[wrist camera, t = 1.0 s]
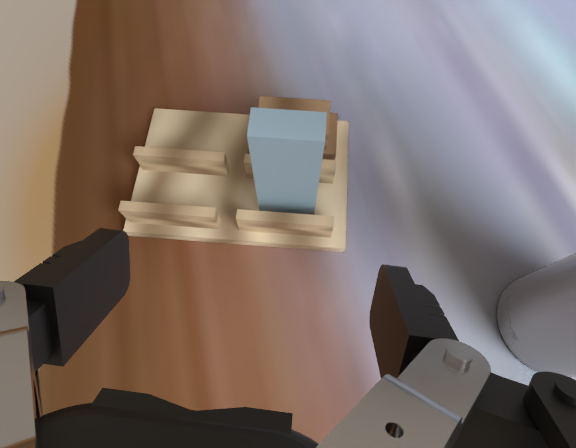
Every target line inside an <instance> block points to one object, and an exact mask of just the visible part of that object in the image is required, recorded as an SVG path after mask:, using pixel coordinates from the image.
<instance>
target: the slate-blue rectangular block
mask: <svg viewBox="0 0 576 448" xmlns="http://www.w3.org/2000/svg"><path fill="white" fill-rule="evenodd" d="M326 117H327V112H315V111H300V110H285V109H269V108H254V107H251V111H250V118H249V125H248V132H247V140H248V146H249V152H250V158H251V164H252V170H253V176H254V181H255V187H256V193H257V199H258V205H259V211H269V212H283V213H296V214H310V215H314V211H315V205H316V198H317V192H318V185H319V179H320V172H321V166H322V159H323V153H324V146H325V135H326Z"/></svg>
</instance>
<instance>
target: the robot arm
mask: <svg viewBox="0 0 576 448" xmlns="http://www.w3.org/2000/svg"><path fill="white" fill-rule="evenodd" d="M129 282H130V260H129V239H128V235H127V233H126V232H125V231H119V230H112V229H104V228H100V229H98V230H96V231H95V232H94V233H92V234H91V235H89V236H88V237H87V238H85V239H84V240H83V241H79V242H76V243H73V244H71V245H68V246H65V247H63V248H62V249H60V250H59V251H58V252H56V253H55V254H53V256H52V257H49V258H47V259H46V260H45V261H43V264H42V263H40V264H39V265H37V266H36V267H35V268H33V269H32V270H30V271H29V272H27V273H26V274H25V275H23V276H22V277H20V278H19V279H17V280H16V281H14V282H9V281H0V448H576V380H574V379H572V378H570V377H573V376H576V253H575V254H573V255H570V256H568V257H566V258H564V259H562V260H559V261H557V262H555V263H553V264H550V265H548V266H546V267H543V268H541V269H539V270H537V271H534V272H532V273H530V274H528V275H525V276H523V277H521V278H519V279H517V280H515V281H514V282H512V283H511V284H509V285H508V286H507V288H506V289H505V290H504V291H503V293H502V295H501V297H500V299H499V302H498V307H497V321H498V326H499V330H500V332H501V335H502V337H503V339H504V341H505V343H506V344H507V346H508V347H509V349H510V350H511V352H512V353H513V354H514V355H515V356H516V357H517V358H518V359H519V360H520V361H521V362H523V363H524V364H525V365H527V366H528V367H530V368H532V369H534V370H536V371H538V373H536V374H534V375H533V377H532V379H531V381H530V383H529V386H527V385H524V384H521V383H518V382H515V381H512V380H509V379H507V378H504V377H501V376H498V375H496V374H493V373H491V368H490V365H489V363H488V361H487V360H486V358H485V357H484V356H483V355H482V354H481V353H479V352H478V351H477V350H475V349H474V348H472V347H471V346H469V345H467V344H465V343H462V342H459V340H458V338H457V337H456V335H455V333H454V331H453V329H452V327H451V326H450V324H449V322H448V320H447V318H446V317H445V316H444V313H443V311H442V309H441V308H440V305H439V303H438V301H437V300H436V298H435V296H434V295H433V294H432V293H431V292H430V291H429V290H427V289H426V288H425V287H424V286H423V285H417V284H414V282H413V280H412V278H411V275H410V273H409V271H408V269H407V268H406V267H398V266H390V265H381V267H380V269H379V273H378V278H377V282H376V287H375V291H374V296H373V300H372V305H371V310H370V329H371V334H372V339H373V343H374V348H375V352H376V357H377V361H378V366H379V371H380V375H381V380H380V381H379V382H378V383H377V384H376V385H375V386H374V387H373V388H372V389H371V390H370V391H369V392H368V393H367V394H366V395H365V396H364V397H363V398H362V400H361V401H360V402H359V403H358V404H357V405H356V406H355V407H354V408H353V409H352V410H351V411H350V412H349V413H348V414H347V415H346V416H345V417H344V418H343V419H342V421H341V422H340V423H339V424H338V425H337V426H336V427H335V428H334V429H333V430H332V431H331V432H330V433H329V434H328V435H327V436H326V437H325V438H324V439H323V440H322V442H321V443H320V444H318V443H317V442H315V441H314V440H312V439H311V438H309V437H307V436H305V435H303V434H301V433H299V432H297V431H294V430H292V429H291V427H292V413H285V412H278V411H270V410H263V409H256V408H248V407H240V408H227V409H214V410H201V411H194V410H189V409H186V408H184V407H181V406H179V405H176V404H173V403H171V402H168V401H166V400H163V399H160V398H158V397H155V396H153V395H150V394H145V393H137V392H130V391H123V390H115V389H108V388H102V390H101V391H100V392H99V394H98V395H97V397H96V398H95V400H94V401H93V403H87V404H81V405H75V406H71V407H67V408H63V409H60V410H57V411H54V412H51V413H48V414H46V415H44V416H43V408H42V399H41V389H40V380H39V373H38V369H39V368H40V367H41V366H42V365H43V364H49V365H57V366H64V365H65V364H66V363H67V361H68V360H69V359H70V358H71V357H72V356H73V354H74V353H75V352H76V351H77V350H78V349H79V347H80V346H81V345H82V344H83V343H84V342H85V340H86V339H87V338H88V337H89V336H90V335H91V333H92V332H93V331H94V330H95V329H96V328H97V326H98V325H99V324H100V323H101V322H102V321H103V319H104V318H105V317H106V316H107V315H108V314H109V312H110V311H111V310H112V309H113V308H114V307H115V305H116V304H117V303H118V302H119V301H120V300H121V298H122V297H123V296H124V295H125V293H126V291H127V289H128V286H129Z"/></svg>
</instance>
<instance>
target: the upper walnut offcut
mask: <svg viewBox="0 0 576 448" xmlns="http://www.w3.org/2000/svg"><path fill="white" fill-rule="evenodd" d="M258 108H269V109H285V110H300V111H315V112H327V117H326V135H325V146H324V149H326V148H327V142H328V136H329V118H330V101H329V100H314V99H298V98H283V97H267V96H260V98H259V105H258Z"/></svg>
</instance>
